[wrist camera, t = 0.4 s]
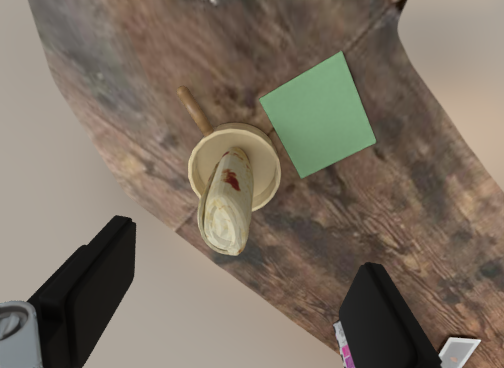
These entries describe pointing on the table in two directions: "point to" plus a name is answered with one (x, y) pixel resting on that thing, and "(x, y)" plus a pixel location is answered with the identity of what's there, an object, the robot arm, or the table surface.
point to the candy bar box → (343, 345)
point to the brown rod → (194, 110)
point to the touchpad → (457, 352)
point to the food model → (227, 203)
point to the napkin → (319, 116)
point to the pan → (255, 148)
